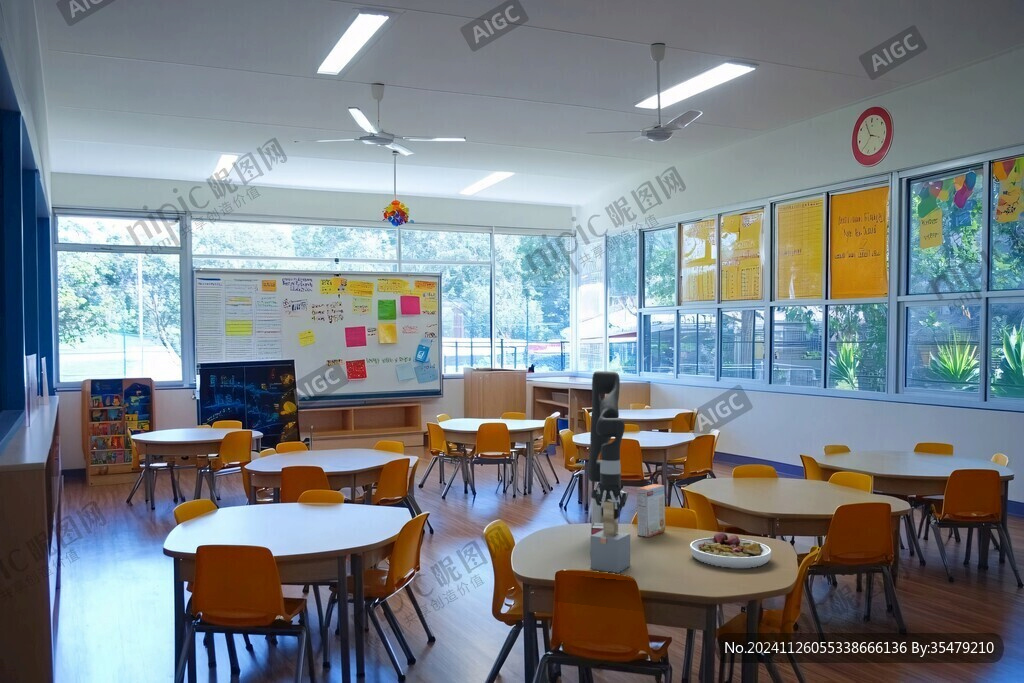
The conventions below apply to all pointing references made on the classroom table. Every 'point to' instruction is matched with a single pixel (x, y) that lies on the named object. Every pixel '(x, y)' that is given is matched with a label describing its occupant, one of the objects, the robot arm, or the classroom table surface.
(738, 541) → the plate of food
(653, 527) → the cracker box
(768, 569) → the classroom table surface
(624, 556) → the grey box
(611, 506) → the post
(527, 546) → the classroom table surface
